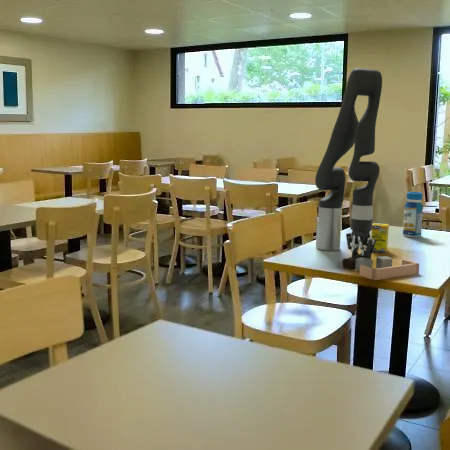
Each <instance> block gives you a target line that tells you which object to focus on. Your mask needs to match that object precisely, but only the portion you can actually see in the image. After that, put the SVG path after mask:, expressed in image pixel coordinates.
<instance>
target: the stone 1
mask: <svg viewBox="0 0 450 450" xmlns="http://www.w3.org/2000/svg"><path fill="white" fill-rule="evenodd" d="M360 265H364V266H367V267H370V268H373V259H372V258H371V259H368V258H364V257H362V258H357V259H356V263H355V266H354V267H355V268H354V269H355V270H356V271H358V272H360Z"/></svg>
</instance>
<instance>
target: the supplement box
mask: <svg viewBox="0 0 450 450" xmlns="http://www.w3.org/2000/svg"><path fill="white" fill-rule="evenodd" d="M389 227H390V224H389V223H378V222H373V223H372V230H371V233H370V237H371V238H372V239H376V243H375V247H374V250H373V253H382V254H386V253H387V251H388V244H389V243H388V242H389Z"/></svg>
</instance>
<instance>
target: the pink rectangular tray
mask: <svg viewBox="0 0 450 450" xmlns="http://www.w3.org/2000/svg"><path fill="white" fill-rule="evenodd" d="M419 271H420V263H418V262H415V261H412V260H408V259H406V258H404V259H402V260H401V265H392V267H384V268H373V267H372V268H370V267H367V266H364V265H360V271H359V276H361V277H363V278H365V279H368V280H371V281H377V280H384V279H391V278H399V277H405V276H410V275H418V274H419Z"/></svg>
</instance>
